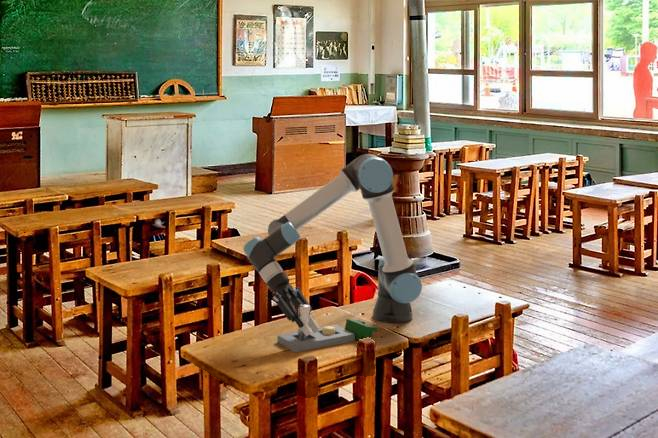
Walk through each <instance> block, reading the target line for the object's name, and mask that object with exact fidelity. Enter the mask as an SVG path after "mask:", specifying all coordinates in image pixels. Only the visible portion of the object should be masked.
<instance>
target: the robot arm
mask: <svg viewBox="0 0 658 438" xmlns="http://www.w3.org/2000/svg"><path fill="white" fill-rule="evenodd" d="M393 179H394V172H393V169H392V167H391V165H390V164H389V163H388V161H386V160H385V159H384V158H382V157H379V156H377V155H375V154H372V153H365V154H361V155H359V156H358V157H356V158H355V159H353V160H352V161H350V163H348V164H347V165H345V167H343V168H342V169H341V170H340V171H339V175H337V176H336V177H334V178H333V179H332V180H330V181H329V182H327V183H326V184H325V185H324V186H322V187H321V188H319V189H318V190H316V191H315V192H314V193H312V194H311V195H310V196H308V197H307V198H305V199H304V200H303V201H302V202H300V203H298V204H297V205H295V206H294V207H293V208H292V209H290V210H289V211H287V212H286V213H284V214H283V215H282V216H281V217H279V218H276V219H273V220H271V222H269V224H268V226H267V232H268V233H267V234H268V235H267V236H266V237H265V238H263V239H262V238H261V237H259V236H256V237H254V238H252V239H250V240H249V241H247V242H246V243H245V245H243V252H244V254H245V256H246V257H247V258H248V260H249V262H250V263H251V264H252V266H253V267H254V268H255V270H256V272H258V274H259V276H260V277H261V278H262V280H263V282H264V283H266V286H267V288H268V289H269V290H270V292H272V293H274V296H273V297H272V298H271V300H272V302H274V303H275V304H276V305H277V307H279V309H280V311H282V313H283V315H284V316H285V317H286V319H287V320H288V321H291V323H294V322H295V324H296V325H297V327H298V326H299V328H301V330H302V331H303V333H304V334H305V335H306V336H308V335H309V334H310V333H311V332H312V331H313V332H314V333H315V332H316V331H318V330H319V329H320V326H319V325H318V323H317V322H316V320H315V318H314V317H313V315H312V313H311V312H312V311H313V308H312V306H311V305H310V303H309V302H308V300H307V298H306V297H305V296H304V294H303V292H302V291H301V288H300V287H299V286H296V287H293V286H292V285H291V284H290V278H289V277H288V275H287V274H286V272H285V271H283V268H282V266H281V264H279V263H278V261H277V260H276V257H277V256H279V255H280V254H282V253H283V252H284V251H286V250H287V249H289V248H290V247H291V246H293V245H295V244H296V242H298V241H299V240H300V239H301V234H300V233H299V230H300V229H302V228H303V227H305V226H306V225H307V224H309V223H310V222H311V221H313V220H314V219H316V218H317V217H318V216H320V215H321V214H322V213H324V212H326V211H327V209H329V208H331V207H332V206H334V205H335V204H336V203H338V202H339V201H340V200H341V199H344V198H345V197H346V196H347V195H349V194H350V193H351V192H355V193H356V192H357V191H360V193H361V196H362V199H363V200H365V201H366V202H368V206H369V209H370V214H371V217H372V221H373V223H374V224H373V225H374V228H375V232H376V235H377V236H376V237H377V239H378V243H379V247H380V249H381V254H382V258H380V259H379V261H378V267H377V268H378V274H377V275H378V276H377V278H378V279H377V289H378V290H377V297H376V298H377V299H376V300H375V304H374V307H373V309H372V317H373V319H375V320H377V321H380V322H384V323H392V324H393V323H406V322H409V321H411V320H413V314H414V313H413V310H412V305H411V303H412V302H414V301H416V300H417V299H418V298H419V297H420V295H421V293H422V289H423V286H422V285H423V284H422V281H421V278H420V277H419V276H418V273H417V271H416V268H415V262H414V260H412V259H411V258H409V256H408V253H407V249H406V245H405V241H404V238H403V234H402V233H403V232H402V231H401V227H400V226H401V225H400V222H399V218H398V215H397V211H396V207H395V203H394V200H393V194H394V192H395V186H394V182H393ZM301 304H307V305H310V328H309V326H308V325H307V323H306V322H305V321H304V319H303V318H302V316H300V317H299V315H298V311H297V309H298V306H299V305H301ZM296 308H297V309H296ZM311 329H312V331H311Z"/></svg>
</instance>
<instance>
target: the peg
mask: <svg viewBox="0 0 658 438" xmlns="http://www.w3.org/2000/svg"><path fill="white" fill-rule="evenodd" d="M310 306H311V305H310V304H309V305H307V304H301V305H299V306H298V308H297V310H298V311H297V313H298V315H299V317H300V316H302V318H303V319H304V321H305V322H306V323H307V325H308V326H309V328H310V314H311V312H310ZM297 328H298V329H297V331H298V339H299V340H300V341H302V340H307V339H310V334H309V335H308V336H306V335H305V334H304V333H303V331H302V330H301V328H299V326H298V325H297ZM310 329H311V328H310Z"/></svg>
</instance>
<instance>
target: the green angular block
mask: <svg viewBox="0 0 658 438" xmlns="http://www.w3.org/2000/svg"><path fill="white" fill-rule="evenodd" d="M344 329H346V330H348V331H350V332H352V333H354V334H355V340H357V341H359V339H363V338H367V337H369V338H370V337H372V338H373V336H374V332H376V333H377V332H378V331H379V327H378V326H376V325H373V324H366V322H365V321H363V320H360V319H351V318H346V322H345V326H344ZM370 339H371V338H370Z"/></svg>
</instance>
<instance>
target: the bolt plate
mask: <svg viewBox="0 0 658 438" xmlns="http://www.w3.org/2000/svg"><path fill="white" fill-rule="evenodd" d="M319 327H320V326H319ZM310 329H311V328H310ZM311 331H312V329H311ZM349 341H351V342H355V341H356V339H355V334H354V333H352V332H350V331H348V330H346V329H345V327H342V326H340V325H339V324H332V325H326V326H321V327H320V329H319V330H318V331H316V332H315V333H314V332H313V331H312V332H311V333H310V339H307V340H302V341H300V340H299V339H298V330H297V331H294V332H292V331H291V332H287V333H280V334H277V343H278V344H281V345H282V346H284V347H286V348H287V349H288V350H290V351H291V352H293V353H298V352H304V351H310V350H314V349H320V348H325V347H329V346H335V345H341V344H346V343H350V342H349ZM345 342H346V343H345Z"/></svg>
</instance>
